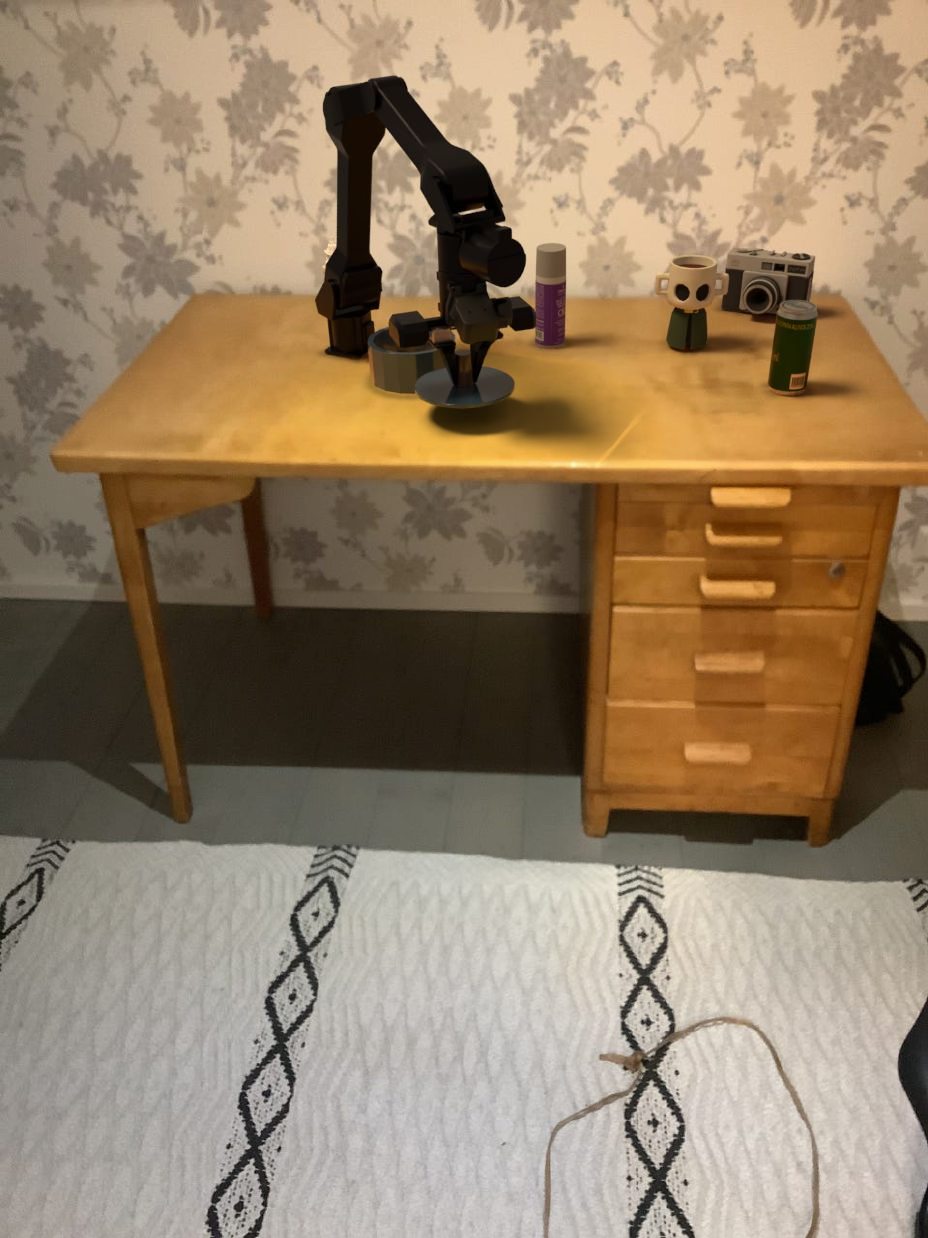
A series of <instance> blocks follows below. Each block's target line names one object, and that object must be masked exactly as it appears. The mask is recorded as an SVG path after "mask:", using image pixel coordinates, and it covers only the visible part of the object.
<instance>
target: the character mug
mask: <svg viewBox="0 0 928 1238" xmlns="http://www.w3.org/2000/svg"><path fill="white" fill-rule="evenodd" d="M664 280H666V281H667V286H666V287H667V288H662V281H664ZM720 280H721V288H716V284H717V283H716V282H717V281H720ZM728 284H729V275H728V274H726V273H725V272H718V261H717V260H716V259H715V258H713V257H711V256H706V255H701V254H684V255H683V254H682V255H678V256H675V257H672V258H671V259H670V260H669V261H668V272H659V273H656V274H655V277H654V289H653V290H654V294H655V295H657V296H666V300H667V303H668V304H669V305H670V306H672V307H674V308H673V309H672V311H671V313H670V319H669V323H668V327H667V333H666V338H665V341H666V343H667V345H668V346H670V347H672V348H674V349H678V350H679V349H680V350H685V349H686V345H690V350H697V349H701V348H703V347H705V346H707V343H708V316H707V315H708V314H707V311H706V308H707V307H709V306H711V305H712V303H713V302H714V299H715V296H723V295H726V294H727V292H728Z"/></svg>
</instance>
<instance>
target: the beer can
mask: <svg viewBox="0 0 928 1238" xmlns="http://www.w3.org/2000/svg"><path fill="white" fill-rule="evenodd" d="M817 310H818V306H817V304H816V303H814V302H812V301H804V300H789V301H784V302H782V303H781V304H780V308H779V309H778V311H777V317H775V326H774V332H773V341H772V347H771V355H770V364H769V370H768V378H767V386H768V389H769V391H770V392H772V393H773V394H775V395H779V396H785V397H795V396H799V395H801V394H803V393H804V392H805V390H806V388H807V386H808V380H809V374H810V368H811V362H812V354H813V348H814V343H815V342H814V341H815V334H816V330H817V329H816V328H817V322H818V316H819V314H818V311H817Z"/></svg>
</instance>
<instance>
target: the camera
mask: <svg viewBox="0 0 928 1238" xmlns="http://www.w3.org/2000/svg"><path fill="white" fill-rule="evenodd" d="M726 255H727V256H726V263H725V271H724V273H726V274H728V275H729V284H728V292H727V294H726V295H722V299H721V311H727V312H734V313H735V312H736V313H743V314H750V315H756V316H766V317H771V318H772V317H774V318H776V317H777V311H778V309H779V308H780V304H781V303H782V302H784V301H789V300H804V301H809V302H811V296H812V290H813V280H814V273H815V262H816V255H814V254H813V255H811V254H808V253H805V252H801V253H799V252H797V253H796V252H795V253H792V252H787V251H786V250H785V251H783V252H782V253H780V252H776V250H775V249H774V250H768V249H764V248H759V247H758V248H757V247H754V248H753V247H747V248H745V247H733V248H731V249H730V250H729V251H728V252H727V254H726Z"/></svg>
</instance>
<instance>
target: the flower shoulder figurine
mask: <svg viewBox="0 0 928 1238" xmlns="http://www.w3.org/2000/svg"><path fill="white" fill-rule="evenodd" d="M336 244H337V243H335V237H334V236H333V235H331V240H330V239H328V244H327V248H326V249H323V252H324V254H325V255H326V257H325V260H326V261H324V264H323V265H322V275H325V266H326V263H327V262H328V260H329V258H330V257H331V255H332V254H333V252H334V250H335V249H336Z"/></svg>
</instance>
